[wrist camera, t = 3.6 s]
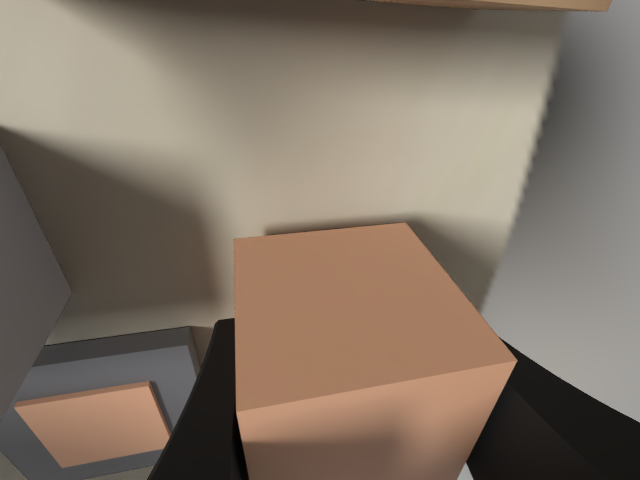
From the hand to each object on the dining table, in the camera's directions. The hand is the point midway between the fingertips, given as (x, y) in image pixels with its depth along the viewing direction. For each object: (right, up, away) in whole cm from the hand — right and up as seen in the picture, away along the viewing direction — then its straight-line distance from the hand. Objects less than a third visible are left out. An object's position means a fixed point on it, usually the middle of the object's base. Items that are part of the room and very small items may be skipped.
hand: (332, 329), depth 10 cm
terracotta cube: (0, +1, +1) cm, 1 cm away
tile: (-8, -4, +3) cm, 10 cm away
